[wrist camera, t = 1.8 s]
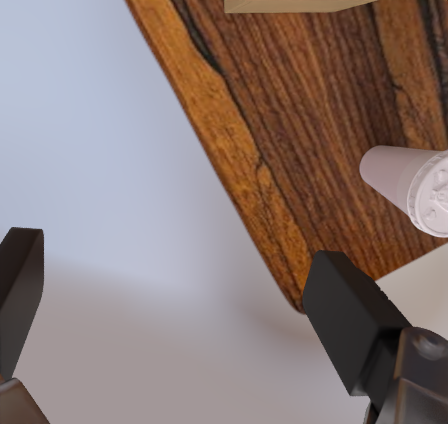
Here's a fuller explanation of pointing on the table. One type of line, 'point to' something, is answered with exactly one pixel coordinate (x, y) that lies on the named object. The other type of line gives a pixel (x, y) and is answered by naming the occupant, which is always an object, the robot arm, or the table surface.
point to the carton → (289, 5)
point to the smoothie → (411, 183)
